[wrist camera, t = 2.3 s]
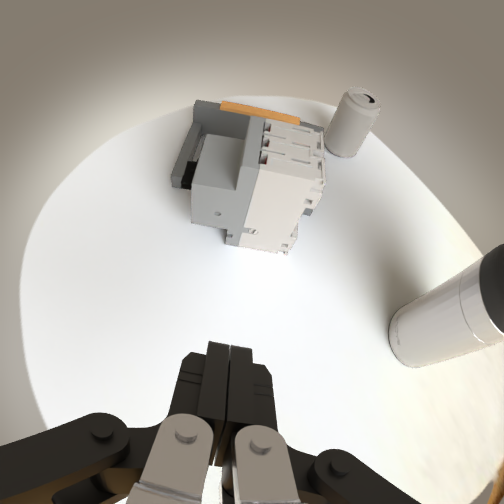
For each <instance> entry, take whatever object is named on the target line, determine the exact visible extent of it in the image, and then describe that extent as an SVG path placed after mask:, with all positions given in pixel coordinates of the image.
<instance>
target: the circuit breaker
mask: <svg viewBox="0 0 504 504" xmlns="http://www.w3.org/2000/svg"><path fill="white" fill-rule="evenodd" d="M323 155H324V139H323V131H321V132H320V133H318V132H314V129H311V128H307V127H303V126H299V125H295V124H290V123H286V122H282V121H277V120H272V119H267V118H263V117H257V116H252V115H251V116H250V119H249V124H248V129H247V133H246V138H245V140H242V139H237V138H231V137H225V136H218V135H212V134H207V135H206V138H205V141H204V144H203V147H202V150H201V153H200V157H199V158H198V160H197V162H193V161H187V165H186V168H185V172H184V175H183V176H182V180H181V188H183V189H189V190H191V223H193V224H199V225H205V226H210V227H216V228H221V229H227V236H226V242H225V244H226V245H232V246H237V247H243V248H249V249H254V250H260V251H266V252H271V253H278V251H281V252H284V255H288V251H289V250H291V248H292V246H293V245H294V243H295V241H296V240H297V231H298V221H299V219H300V217H301V215H302V213H303V212H304V210H305V208H310V209H315V207H316V205H317V204H318V202H319V200H320V198H321V196H322V190H323V187H324V186H325V185H326V174H325V158H323ZM284 244H285V245H284Z"/></svg>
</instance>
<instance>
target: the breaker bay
mask: <svg viewBox="0 0 504 504" xmlns="http://www.w3.org/2000/svg"><path fill="white" fill-rule="evenodd" d="M251 115H252V116H257V117H263V118H267V119H272V120H277V121H282V122H286V123H290V124H295V125H299V126H303V127H307V128H311V129H314V132H318V133H320V132H321V131H323V134H324V128H323V127H319V126H316V125H312V124H309V123H305V122H301V121H300V118H298V117H294V116H291V115H287V114H282V113H278V112H274V111H270V110H265V109H261V108H256V107H252V106H247V105H242V104H237V103H231V102H226V101H222V103H221V104H219V103H213V102H207V101H201V100H196V102H195V104H194V112H193V123H192V126H191V128H190V130H189V133H188V135H187V137H186V140H185V142H184V144H183V147H182V149H181V152H180V154H179V157H178V159H177V162H176V164H175V167H174V169H173V172H172V174H171V182H172V187H176V188H181V180H182V176H183V175H184V172H185V168H186V165H187V161H192V159H193V156H194V153H195V151H196V148H197V145H198V142H199V140H200V137H201V135H204V136H206V135H207V134H212V135H218V136H225V137H231V138H237V139H242V140H245V138H246V133H247V129H248V124H249V119H250V116H251ZM181 189H182V188H181ZM312 211H313V209H310V208H305V210H304V212H303V213H302V214H304V215H309V216H310V215H311V213H312Z"/></svg>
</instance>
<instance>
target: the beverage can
mask: <svg viewBox="0 0 504 504" xmlns="http://www.w3.org/2000/svg"><path fill="white" fill-rule="evenodd" d="M380 107H381V103H380V101H379V99H378V98H377V97H376V96H375V95H374V94H372V93H371V92H369V91H367V90H365V89H363V88H359V87H351V88H349V90H348V91H347V92H345V93H344V95H343V97H342V99H341V101H340V103H339V106H338V108H337V110H336V112H335V114H334V117H333V119H332V121H331V123H330V125H329V128H328V130H327V132H326V134H325V136H324V143H325V145H326V147H327V148H328V150H329V151H330V152H331V153H333V154H334V155H336V156H339V157H344V158H350V157H353V156H355V155H356V153H357V151H358V150H359V148H360V146H361V145H362V143H363V141H364V139H365V138H366V136H367V134H368V133H369V131H370V129H371V127H372V126H373V124H374V122H375V120H376V119H377V117H378V115H379V113H380V110H379V108H380Z"/></svg>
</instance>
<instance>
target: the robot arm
mask: <svg viewBox="0 0 504 504" xmlns="http://www.w3.org/2000/svg"><path fill="white" fill-rule="evenodd" d="M389 340H390V344H391V348H392V350H393V352H394V354H395V356H396V357H397V359H398V360H399V361H400V362H401V363H403V364H404V365H406V366H408V367H411V368H420V367H424V366H427V365H431V364H435V363H439V362H442V361H446V360H449V359H452V358H456V357H459V356H462V355H465V354H468V353H471V352H474V351H477V350H480V349H483V348H486V347H489V346H492V345H494V344H497V343H499V342H502V341H504V244H502V245H499V246H498V247H496V248H495V249H493V250H492V251H491V252H489V253H488V254H486V255H485V256H484V257H482V258H481V259H479V260H478V261H476V262H475V263H473V264H472V265H470V266H469V267H467V268H466V269H464V270H463V271H461V272H460V273H458V274H457V275H455V276H454V277H452V278H450V279H449V280H447V281H446V282H444V283H442V284H441V285H439V286H438V287H436V288H434V289H433V290H431V291H429V292H428V293H426V294H424V295H423V296H421V297H419V298H417V299H416V300H414V301H412V302H410V303H409V304H407V305H405V306H404V307H402V308H400V309H399V310H398V311H397V312H396V313H395V314H394V316H393V318H392V320H391V323H390V327H389ZM229 347H230V350H229ZM272 387H273V384H272V375H271V374H270V372H269V371H268V369H267V368H266V366H265V365H261V364H255V363H253V358H252V349H251V348H245V347H239V346H233V345H231V346H230V345H228V344H222V343H217V342H212V341H209V343H208V348H207V353H206V355H204V354H199V353H194V352H190V353H189V354H188V355H187V356H186V357H185V358H184V359H183V360H182V364H181V367H180V372H179V375H178V379H177V382H176V386H175V390H174V394H173V398H172V401H171V405H170V409H169V413H168V415H167V417H166V418H165V419H164V420H163V421H162V422H161V423H159V424H157V425H155V426H152V427H147V428H127V426H126V425H125V423H124V422H123V421H122V420H120V419H119V418H118V417H116V416H114V415H111V414H107V413H91V414H88V415H86V416H83V417H81V418H78V419H76V420H73V421H71V422H68V423H65V424H63V425H60V426H58V427H55V428H52V429H49V430H47V431H44V432H41V433H38V434H36V435H33V436H30V437H27V438H24V439H21V440H18V441H15V442H12V443H9V444H6V445H3V446H0V504H114V503H116V502H118V501H120V500H122V499H124V498H126V497H127V496H128V499H127V502H126V504H201V501H202V500H201V498H202V492H203V487H204V482H205V478H206V474H207V471H208V467H209V465H211V466H212V464H213V460H214V457H215V463H214V466H219V467H222V478H221V481H220V484H219V504H421V503H419V502H418V501H416V500H415V499H413V498H412V497H410V496H409V495H407V494H406V493H404V492H403V491H401V490H400V489H399V488H397V487H396V486H394V485H393V484H391V483H390V482H389V481H387V480H386V479H384V478H383V477H382V476H380V475H379V474H377V473H376V472H375V471H373V470H372V469H371V468H369V467H368V466H367V465H365V464H364V463H363V462H361V461H360V460H359V459H357V458H356V457H355V456H353V455H352V454H350V453H348V452H346V451H344V450H339V449H329V450H326V451H323V452H321V453H320V454H319V455H318V456H313V455H310V454H307V453H303V452H300V451H297V450H295V449H293V448H291V447H290V446H288V445H287V444H286V442H285V440H284V438H283V437H282V436H281V435H280V434H279V433H278V429H277V420H276V411H275V402H274V397H273V396H274V393H273V388H272Z"/></svg>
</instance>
